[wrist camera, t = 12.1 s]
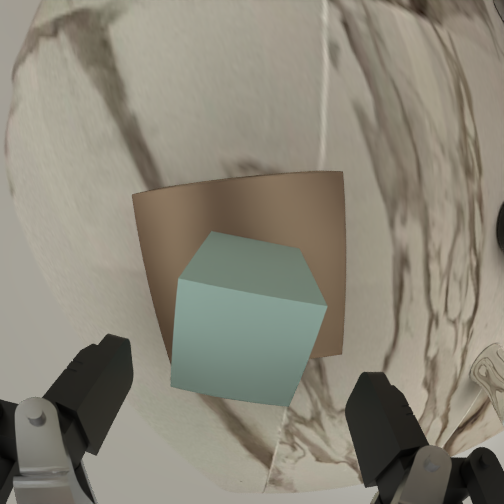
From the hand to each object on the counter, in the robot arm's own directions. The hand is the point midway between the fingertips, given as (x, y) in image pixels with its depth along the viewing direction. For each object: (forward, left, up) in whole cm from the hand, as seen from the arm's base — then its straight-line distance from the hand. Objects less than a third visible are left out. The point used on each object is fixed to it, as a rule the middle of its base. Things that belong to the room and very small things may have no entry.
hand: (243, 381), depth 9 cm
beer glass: (-34, +10, -14) cm, 38 cm away
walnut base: (0, 0, -14) cm, 14 cm away
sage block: (0, 0, -8) cm, 8 cm away
